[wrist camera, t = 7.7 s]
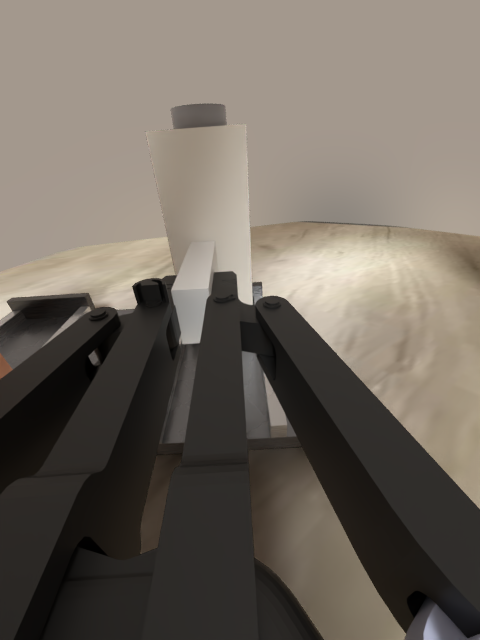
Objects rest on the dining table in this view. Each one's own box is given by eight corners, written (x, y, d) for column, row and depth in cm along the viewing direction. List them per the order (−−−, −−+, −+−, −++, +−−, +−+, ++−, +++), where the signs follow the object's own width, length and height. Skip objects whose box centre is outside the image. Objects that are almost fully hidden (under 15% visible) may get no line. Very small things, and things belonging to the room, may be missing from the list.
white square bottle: (250, 302, 24) (242, 110, 16) (254, 335, 20) (244, 97, 12) (196, 306, 24) (163, 116, 16) (189, 339, 20) (139, 105, 12)
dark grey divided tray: (276, 309, 25) (276, 281, 24) (312, 446, 14) (318, 410, 12) (14, 325, 26) (-3, 298, 24) (-166, 472, 14) (-224, 440, 12)
